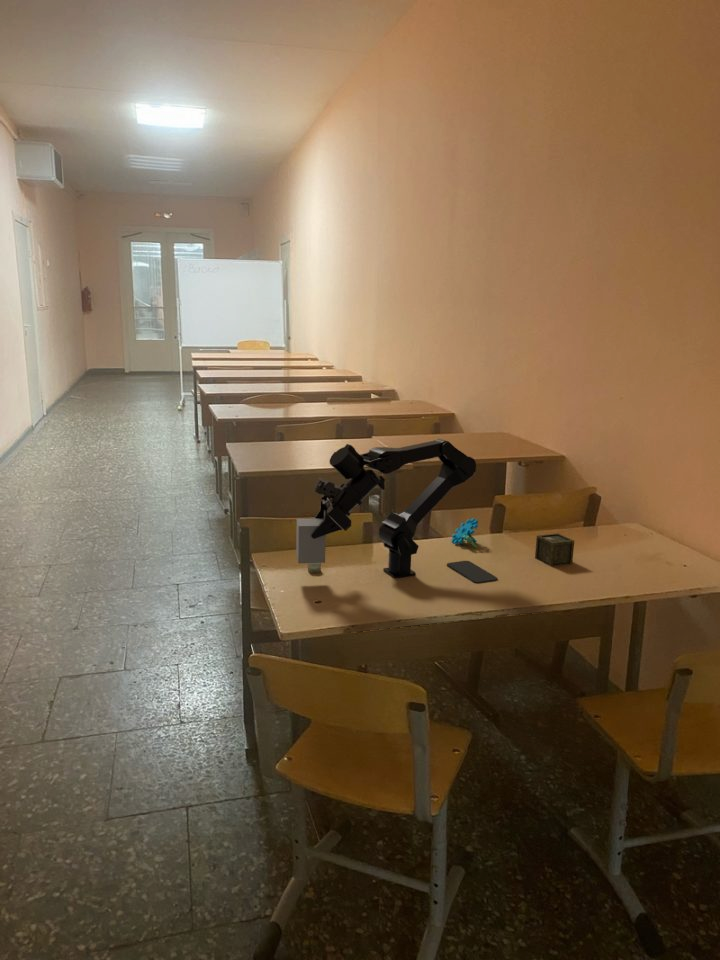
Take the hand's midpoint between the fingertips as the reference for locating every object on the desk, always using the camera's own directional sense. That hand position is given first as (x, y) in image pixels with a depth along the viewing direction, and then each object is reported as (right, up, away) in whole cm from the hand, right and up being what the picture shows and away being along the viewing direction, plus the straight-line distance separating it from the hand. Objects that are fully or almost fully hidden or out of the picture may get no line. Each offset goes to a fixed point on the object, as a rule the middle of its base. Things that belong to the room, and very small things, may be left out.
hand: (311, 533), depth 176 cm
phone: (+42, -12, +12) cm, 45 cm away
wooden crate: (+66, -10, +23) cm, 71 cm away
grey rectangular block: (0, -7, +1) cm, 7 cm away
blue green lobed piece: (+44, -6, +37) cm, 57 cm away
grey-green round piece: (0, -11, +11) cm, 15 cm away
